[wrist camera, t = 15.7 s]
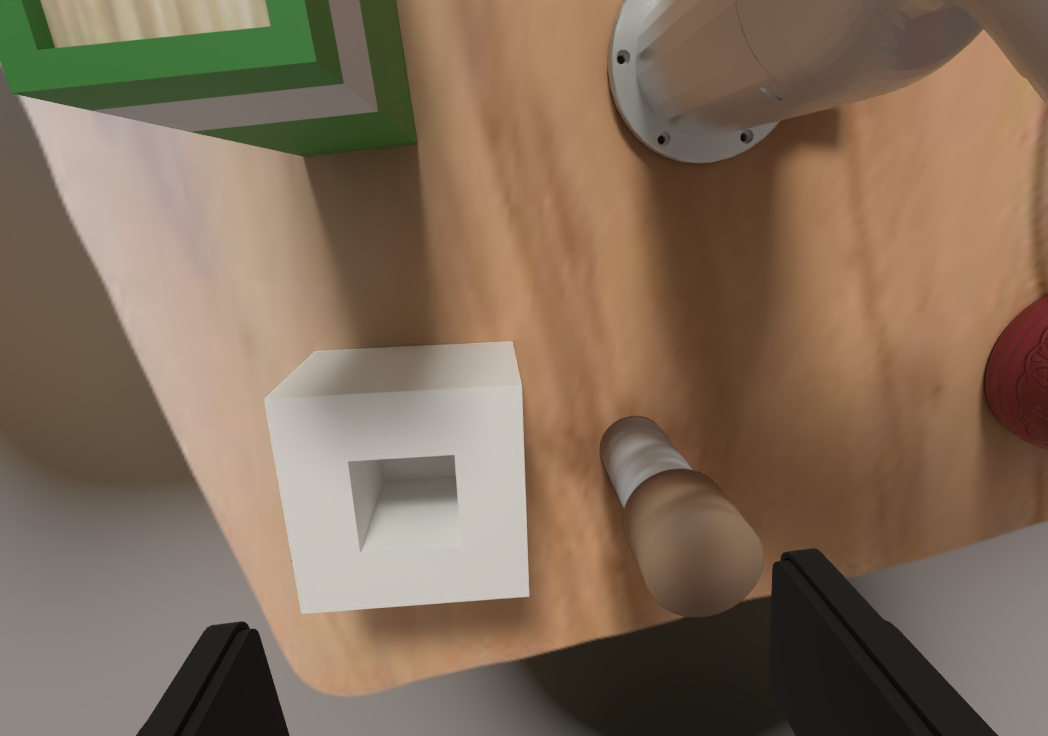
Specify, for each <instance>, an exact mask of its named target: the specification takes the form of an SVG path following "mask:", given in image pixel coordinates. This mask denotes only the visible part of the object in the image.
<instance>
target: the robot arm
mask: <svg viewBox="0 0 1048 736" xmlns="http://www.w3.org/2000/svg"><path fill="white" fill-rule="evenodd" d="M983 29H984V30H985V31H986V32H987V33H988V34H989V36H990V37H991V38H992V39H993V40H994V41H995V43H996V44H997V45H998V47H999V48H1000V49H1001V50H1002V52H1003V53H1004V54H1005V56H1006V57H1007V58H1008V60H1009V61H1010V62H1011V64H1012V65H1013V66H1014V68H1015V69H1016V70H1017V72H1018V73H1019V74H1020V75H1021V76H1022V77H1024V78H1026V79H1027V80H1028V81H1029V83H1030V84H1031V85H1032V87H1033V88H1034V89H1035V91H1036V92H1037V93H1038V95H1039V96H1040V97H1041V98H1042V100H1043V101H1044V102H1045V104H1046V105H1047V106H1048V0H624V1H623V2H622V4H621V6H620V9H619V11H618V14H617V16H616V19H615V21H614V24H613V28H612V32H611V37H610V41H609V47H608V75H609V83H610V89H611V92H612V95H613V99H614V102H615V105H616V107H617V109H618V111H619V113H620V115H621V117H622V119H623V121H624V123H625V124H626V125H627V127H628V128H629V129H630V131H631V132H632V133H633V134H634V136H635V137H636V138H637V139H638V140H640V141H641V142H642V143H643V144H644V145H645V146H647V147H648V148H649V149H650V150H652V151H654V152H656V153H658V154H660V155H662V156H663V157H665V158H669V159H672V160H676V161H679V162H684V163H698V164H700V163H710V162H716V161H720V160H724V159H728V158H731V157H734V156H736V155H738V154H740V153H742V152H745V151H747V150H748V149H750V148H751V147H753V146H754V145H756V144H757V143H759V142H760V141H761V140H763V139H764V138H765V137H766V136H767V135H768V134H769V133H770V132H771V131H772V130H773V129H774V128H775V127H776V126H777V125H778V123H779V122H780V121H781V120H785V119H789V118H793V117H797V116H801V115H805V114H809V113H813V112H817V111H821V110H826V109H830V108H834V107H838V106H842V105H846V104H850V103H854V102H858V101H862V100H865V99H868V98H872V97H876V96H879V95H883V94H887V93H890V92H892V91H895V90H898V89H901V88H904V87H906V86H909V85H911V84H913V83H915V82H917V81H919V80H921V79H922V78H924V77H926V76H928V75H930V74H931V73H933V72H935V71H936V70H938V69H939V68H941V67H942V66H943V65H945V64H946V63H947V62H949V61H950V60H951V59H952V58H953V57H955V56H956V55H957V54H958V53H959V52H960V51H962V50H963V49H964V48H965V47H966V46H967V45H969V44H970V43H971V42H972V41H973V40H974V39H975V38H976V37H977V36H978V35H979V34H980V32H981V31H982V30H983ZM619 56H620V57H622V58H623V60H624V62H623V64H619V63H618V62H617V57H619ZM741 134H743V135H744V140H743V141H741V138H740V136H741ZM659 136H662V137H663V143H662V144H659V143H658V141H657V139H658V137H659ZM769 651H770V652H769V683H770V687H771V691H772V693H773V696H774V698H775V700H776V702H777V704H778V705H779V707H780V709H781V710H782V713H783V714H784V716H785V718H786V720H787V721H788V723H789V725H790V727H791V728H792V730H793V732H794V734H795V735H796V736H998V735H997V734H996V733H995V732H994V731H993V730H992V729H991V728H990V727H989V726H988V724H987V723H986V722H985V721H984V720H983V719H982V718H981V717H980V716H979V715H978V714H977V713H976V712H975V711H974V710H973V708H972V707H970V705H969V704H968V703H967V702H966V701H965V700H964V699H963V698H962V697H961V696H960V695H959V694H958V692H957V691H956V690H955V689H954V688H953V687H952V686H951V685H950V684H949V683H948V682H947V681H946V680H945V679H944V678H943V677H942V675H941V674H940V673H939V672H938V671H937V670H936V669H935V668H934V667H933V666H932V665H931V664H930V663H929V662H928V660H927V659H926V658H925V657H924V656H923V655H922V654H921V653H920V652H919V651H918V650H917V649H916V648H915V647H914V646H913V645H912V643H911V642H910V641H909V640H908V639H907V638H906V637H905V636H904V635H903V634H902V633H901V632H900V631H899V630H898V629H897V628H896V627H895V626H894V625H893V624H891V623H890V622H888V621H886V620H883V619H882V617H881V616H880V615H879V614H878V613H877V612H876V611H875V610H874V609H873V608H872V607H871V606H870V604H869V603H868V602H867V601H866V600H865V599H864V598H863V597H862V596H861V595H860V594H859V593H858V591H856V589H855V588H854V587H853V586H852V585H851V584H850V583H849V582H848V581H847V580H846V578H845V577H844V576H843V575H842V574H841V573H840V572H839V571H838V570H837V569H836V568H835V567H834V565H833V564H832V563H831V562H830V561H829V560H828V559H827V558H826V557H825V556H824V555H823V554H822V553H821V552H820V551H819V550H818V549H814V548H813V549H805V550H797V551H790V552H785V553H783V554H782V556H781V560H780V561H778V562H774V564H773V569H772V596H771V623H770V650H769ZM136 736H289V732H288V729H287V726H286V722H285V719H284V716H283V712H282V709H281V706H280V702H279V699H278V695H277V692H276V689H275V685H274V682H273V679H272V675H271V672H270V669H269V665H268V662H267V659H266V655H265V652H264V648H263V645H262V642H261V638H260V635H259V633H258V631H257V630H256V629H250V628H249V626H248V624H246V623H245V622H234V623H227V624H219V625H211V626H209V627H207V629H206V630H205V631H204V632H203V634H202V635H201V637H200V639H199V640H198V642H197V643H196V645H195V646H194V648H193V649H192V651H191V653H190V654H189V656H188V657H187V659H186V660H185V662H184V664H183V665H182V667H181V668H180V670H179V671H178V673H177V675H176V676H175V678H174V679H173V681H172V683H171V684H170V686H169V687H168V689H167V690H166V692H165V693H164V695H163V697H162V698H161V700H160V701H159V703H158V705H157V706H156V708H155V709H154V711H153V713H152V714H151V716H150V717H149V719H148V720H147V722H146V723H145V724H144V726H143V727H142V728H141V729H140V730H139V732H138V734H137V735H136Z"/></svg>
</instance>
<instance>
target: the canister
mask: <svg viewBox="0 0 1048 736" xmlns="http://www.w3.org/2000/svg"><path fill="white" fill-rule="evenodd" d="M985 389H986V396H987V401H988V404H989V406H990V409H991V411H992V413H993V414H994V416H995V417H996V418H997V420H998V421H999V422H1000V423H1001V424H1002V425H1003V426H1005V427H1006V428H1007V429H1009V430H1011V431H1012V432H1013V433H1014V434H1015V435H1016V436H1018V437H1019V438H1021V439H1023V440H1024V441H1026V442H1029V443H1031V444H1033V445H1035V446H1037V447H1040V448H1043V449H1046V450H1048V294H1047V295H1045V296H1043V297H1042V298H1040V299H1038V300H1037V301H1035V302H1034V303H1032V304H1031V305H1029V306H1028V307H1027V308H1025V309H1024V310H1023V311H1022V312H1021V313H1020V314H1019V315H1018V316H1017V317H1016V318H1015V319H1014V320H1013V321H1012V322H1011V323H1010V324H1009V325H1008V327H1007V328H1006V329H1005V331H1004V332H1003V333H1002V335H1001V336H1000V338H999V340H998V341H997V343H996V345H995V347H994V349H993V351H992V354H991V356H990V359H989V363H988V366H987V371H986V379H985Z"/></svg>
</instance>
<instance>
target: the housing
mask: <svg viewBox="0 0 1048 736" xmlns="http://www.w3.org/2000/svg"><path fill="white" fill-rule="evenodd" d="M264 403H265V409H266V414H267V420H268V426H269V432H270V437H271V443H272V449H273V454H274V460H275V466H276V472H277V477H278V483H279V489H280V494H281V500H282V506H283V512H284V517H285V523H286V529H287V534H288V540H289V546H290V551H291V557H292V563H293V569H294V574H295V580H296V586H297V591H298V597H299V603H300V609H301V614H307V613H320V612H333V611H346V610H359V609H373V608H386V607H399V606H412V605H425V604H438V603H452V602H465V601H478V600H491V599H504V598H517V597H529V574H528V546H527V518H526V489H525V461H524V433H523V404H522V383H521V379H520V374H519V370H518V365H517V360H516V356H515V351H514V347H513V342H512V341H504V342H483V343H463V344H443V345H422V346H402V347H382V348H361V349H341V350H321V351H314V352H313V353H312V354H311V355H310V356H309V357H308V358H307V359H306V360H305V361H303V362H302V363H301V364H300V365H299V366H298V367H297V368H296V369H295V370H294V371H293V372H292V373H291V374H290V375H289V376H288V377H286V378H285V379H284V380H283V381H282V382H281V383H280V384H279V385H278V386H277V387H276V388H275V389H274V390H273V391H272V392H271V393H269V394H268V395H267V396H266V397H265V398H264Z"/></svg>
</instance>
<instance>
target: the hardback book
mask: <svg viewBox="0 0 1048 736" xmlns="http://www.w3.org/2000/svg"><path fill="white" fill-rule="evenodd" d="M0 62H1V65H2V67H3V70H4V73H5V76H6V79H7V82H8V85H9V88H10V91H11V93H13V94H17V95H22V96H26V97H31V98H36V99H40V100H45V101H49V102H54V103H59V104H63V105H68V106H73V107H77V108H82V109H87V110H91V111H96V112H100V113H105V114H110V115H114V116H119V117H124V118H128V119H133V120H137V121H142V122H147V123H151V124H156V125H161V126H165V127H170V128H175V129H179V130H184V131H188V132H193V133H198V134H202V135H207V136H212V137H216V138H221V139H225V140H230V141H235V142H239V143H244V144H249V145H253V146H258V147H263V148H267V149H272V150H276V151H281V152H286V153H290V154H295V155H300V156H309V155H318V154H327V153H336V152H345V151H354V150H363V149H372V148H381V147H391V146H400V145H409V144H418V143H417V137H416V130H415V123H414V117H413V110H412V104H411V97H410V91H409V84H408V78H407V71H406V65H405V58H404V52H403V45H402V38H401V32H400V25H399V19H398V12H397V6H396V0H0Z"/></svg>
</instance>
